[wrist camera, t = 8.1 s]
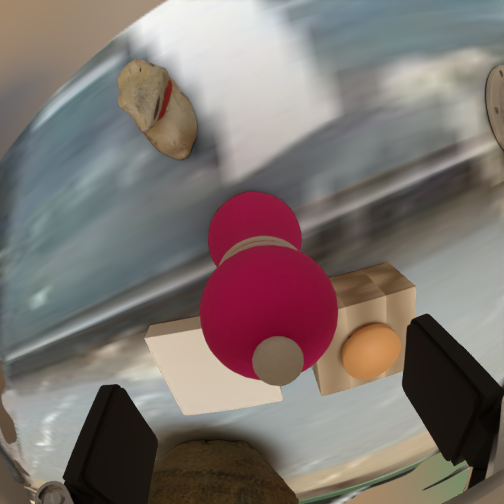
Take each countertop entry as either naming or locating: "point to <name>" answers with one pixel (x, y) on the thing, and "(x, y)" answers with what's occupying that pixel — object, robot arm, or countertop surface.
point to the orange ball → (370, 351)
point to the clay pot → (216, 476)
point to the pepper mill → (265, 293)
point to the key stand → (366, 320)
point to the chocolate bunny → (158, 108)
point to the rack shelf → (202, 371)
